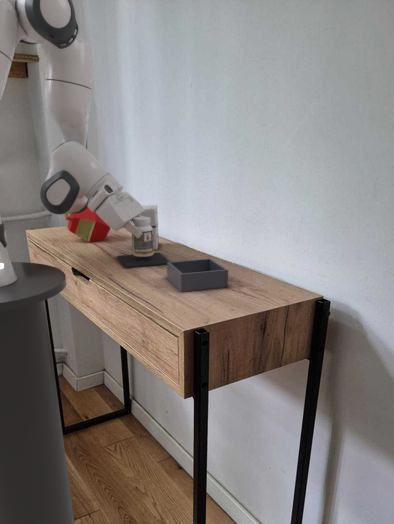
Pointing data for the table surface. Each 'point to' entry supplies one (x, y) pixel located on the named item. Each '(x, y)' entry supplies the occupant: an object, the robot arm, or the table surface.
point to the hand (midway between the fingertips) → (144, 233)
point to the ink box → (152, 222)
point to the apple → (87, 226)
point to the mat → (142, 260)
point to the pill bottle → (143, 238)
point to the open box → (197, 274)
